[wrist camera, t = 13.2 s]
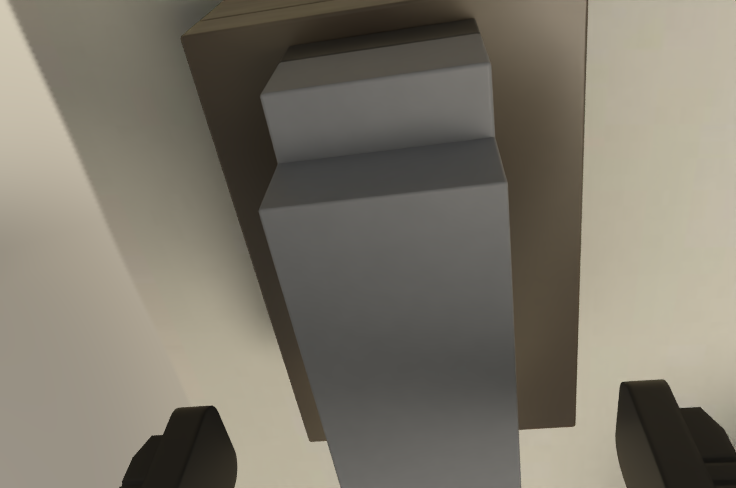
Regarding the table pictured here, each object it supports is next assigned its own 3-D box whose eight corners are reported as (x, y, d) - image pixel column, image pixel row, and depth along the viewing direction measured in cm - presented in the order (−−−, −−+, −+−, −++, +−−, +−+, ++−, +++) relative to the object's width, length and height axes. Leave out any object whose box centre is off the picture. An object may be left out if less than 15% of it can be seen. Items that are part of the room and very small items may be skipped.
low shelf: (325, 344, 26) (308, 442, 21) (232, -9, 18) (177, 36, 14) (548, 326, 24) (575, 427, 20) (546, -61, 17) (590, -28, 13)
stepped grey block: (497, 355, 19) (522, 505, 14) (361, 366, 19) (347, 512, 15) (475, 17, 13) (504, 99, 9) (287, 46, 14) (234, 134, 10)
